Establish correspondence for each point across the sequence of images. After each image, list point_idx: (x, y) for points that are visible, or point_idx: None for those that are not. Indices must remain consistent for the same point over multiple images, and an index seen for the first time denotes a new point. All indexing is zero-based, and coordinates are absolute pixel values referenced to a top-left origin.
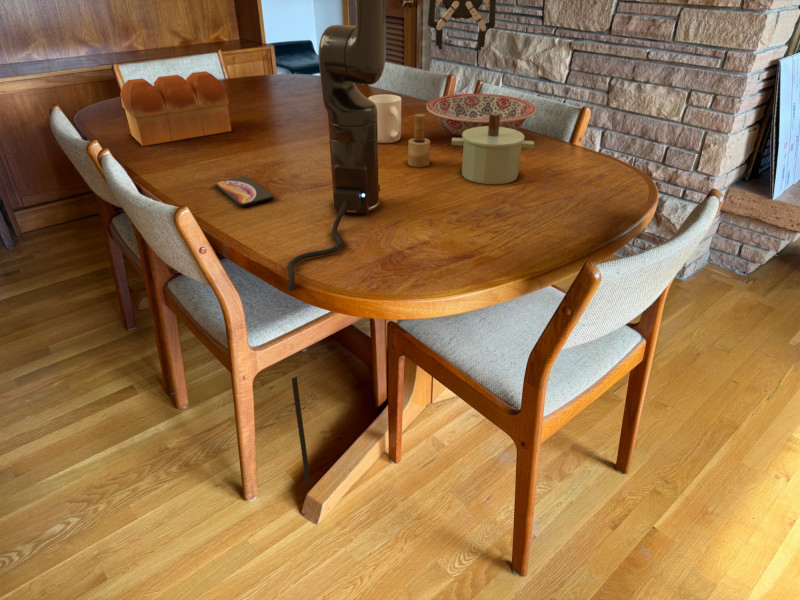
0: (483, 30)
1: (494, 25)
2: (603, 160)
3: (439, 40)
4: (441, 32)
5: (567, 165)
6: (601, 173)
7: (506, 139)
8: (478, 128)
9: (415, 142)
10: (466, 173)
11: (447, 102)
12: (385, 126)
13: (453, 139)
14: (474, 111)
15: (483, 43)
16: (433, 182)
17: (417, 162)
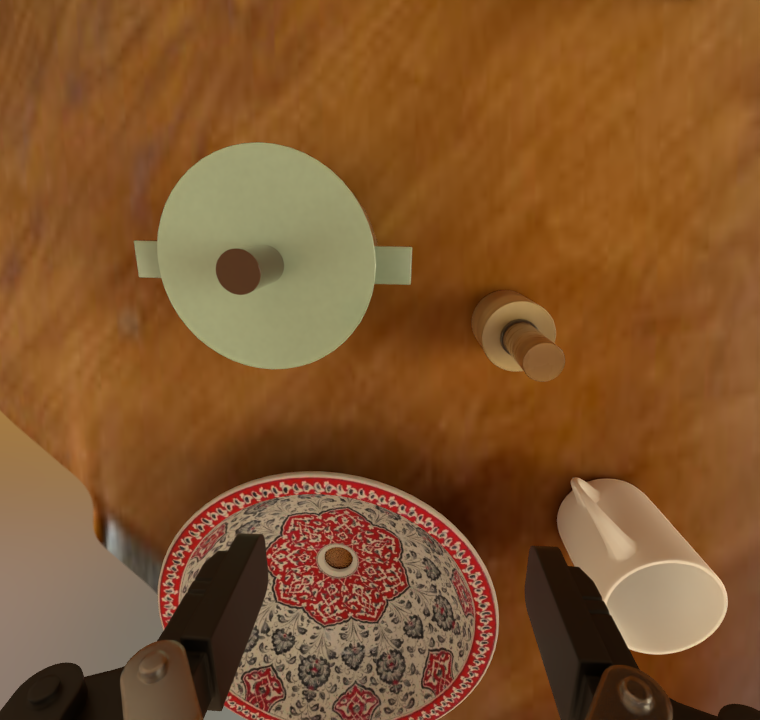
0: (163, 644)
1: (24, 688)
2: (14, 395)
3: (572, 588)
4: (582, 646)
5: (99, 348)
6: (11, 296)
7: (215, 213)
8: (319, 338)
9: (531, 320)
10: (362, 206)
11: (430, 685)
12: (623, 505)
13: (406, 261)
14: (349, 669)
15: (209, 569)
16: (458, 165)
17: (509, 291)
